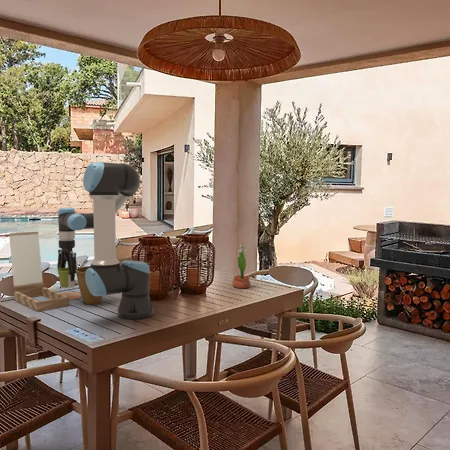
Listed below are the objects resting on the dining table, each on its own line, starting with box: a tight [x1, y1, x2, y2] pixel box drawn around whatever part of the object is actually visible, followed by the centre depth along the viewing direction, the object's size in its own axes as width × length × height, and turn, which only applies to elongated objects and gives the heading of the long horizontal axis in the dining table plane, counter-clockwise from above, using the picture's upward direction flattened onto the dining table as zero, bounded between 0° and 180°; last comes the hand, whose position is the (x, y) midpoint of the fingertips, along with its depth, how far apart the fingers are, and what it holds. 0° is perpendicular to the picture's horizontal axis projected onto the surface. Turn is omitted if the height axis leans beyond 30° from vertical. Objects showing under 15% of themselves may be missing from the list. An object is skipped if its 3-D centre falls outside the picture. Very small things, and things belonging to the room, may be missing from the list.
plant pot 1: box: [56, 266, 69, 289], centre depth 221 cm, size 9×9×9 cm
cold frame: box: [13, 282, 70, 312], centre depth 210 cm, size 26×14×6 cm, turn 46°
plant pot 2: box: [75, 265, 104, 305], centre depth 212 cm, size 15×15×16 cm
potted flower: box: [231, 243, 251, 289], centre depth 251 cm, size 12×10×25 cm
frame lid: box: [8, 231, 44, 287], centre depth 219 cm, size 25×14×1 cm
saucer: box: [59, 291, 82, 301], centre depth 222 cm, size 13×13×1 cm
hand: (67, 285), depth 221 cm, fingers closed on plant pot 1, 8 cm apart
